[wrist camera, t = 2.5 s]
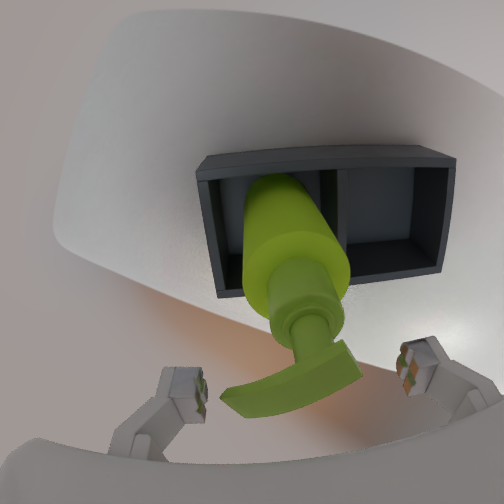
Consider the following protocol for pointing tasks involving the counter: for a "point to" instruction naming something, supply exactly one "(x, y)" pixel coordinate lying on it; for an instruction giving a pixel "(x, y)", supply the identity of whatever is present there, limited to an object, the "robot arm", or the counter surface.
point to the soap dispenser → (293, 297)
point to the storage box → (339, 206)
